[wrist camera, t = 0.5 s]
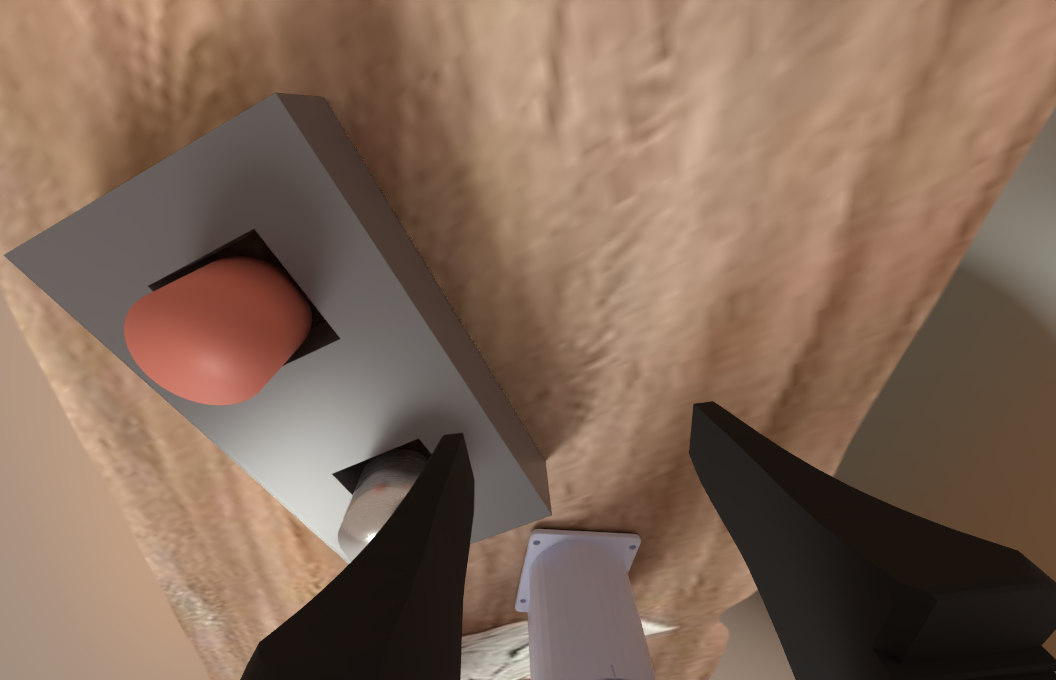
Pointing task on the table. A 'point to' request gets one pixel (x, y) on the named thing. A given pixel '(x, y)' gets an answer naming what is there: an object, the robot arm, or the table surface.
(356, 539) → the grey button
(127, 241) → the button panel
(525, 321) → the table surface
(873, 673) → the robot arm
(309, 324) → the red button
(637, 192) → the table surface
